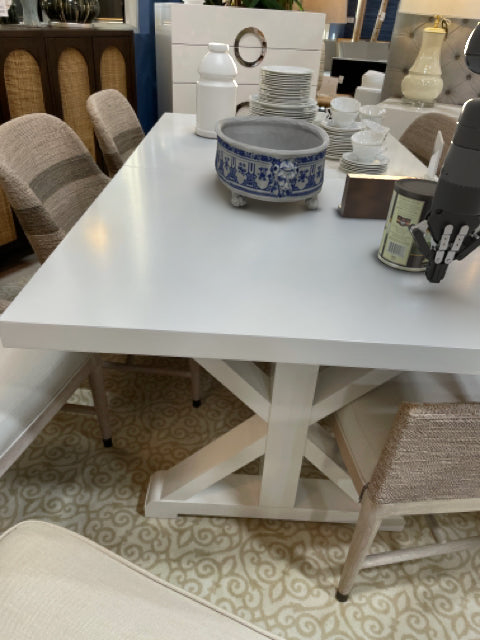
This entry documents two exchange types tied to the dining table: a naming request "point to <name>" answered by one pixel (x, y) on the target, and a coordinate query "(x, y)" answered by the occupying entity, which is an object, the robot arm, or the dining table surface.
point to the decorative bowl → (271, 159)
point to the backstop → (367, 195)
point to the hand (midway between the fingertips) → (432, 280)
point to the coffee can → (406, 224)
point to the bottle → (215, 89)
